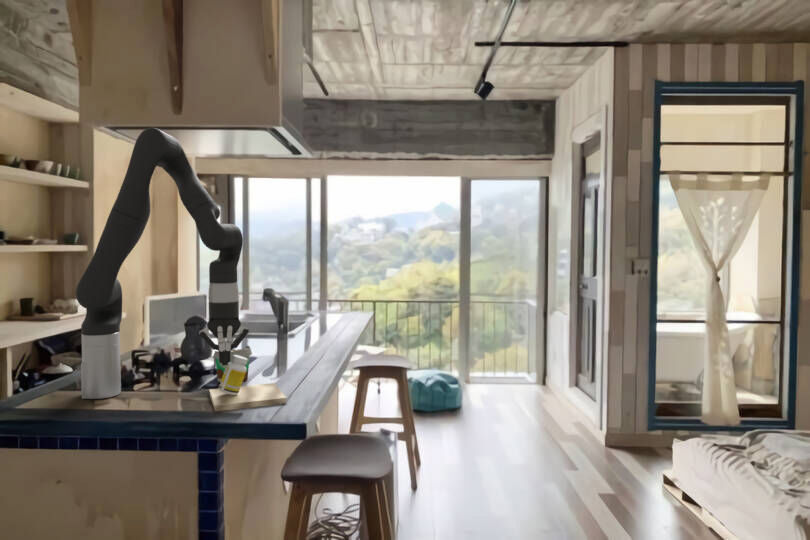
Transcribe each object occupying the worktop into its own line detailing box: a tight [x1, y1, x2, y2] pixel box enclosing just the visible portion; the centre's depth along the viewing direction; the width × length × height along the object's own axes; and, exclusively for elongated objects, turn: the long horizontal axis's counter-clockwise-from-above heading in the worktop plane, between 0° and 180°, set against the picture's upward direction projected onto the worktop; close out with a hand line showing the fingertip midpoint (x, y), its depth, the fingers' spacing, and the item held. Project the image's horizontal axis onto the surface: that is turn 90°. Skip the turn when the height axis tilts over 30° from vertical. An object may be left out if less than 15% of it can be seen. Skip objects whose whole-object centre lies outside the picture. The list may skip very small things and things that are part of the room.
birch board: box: [208, 382, 288, 412], centre depth 151 cm, size 18×16×2 cm
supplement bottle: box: [217, 355, 248, 395], centre depth 150 cm, size 5×5×10 cm
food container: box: [213, 344, 253, 384], centre depth 168 cm, size 12×6×10 cm, turn 143°
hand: (224, 364), depth 148 cm, fingers closed
